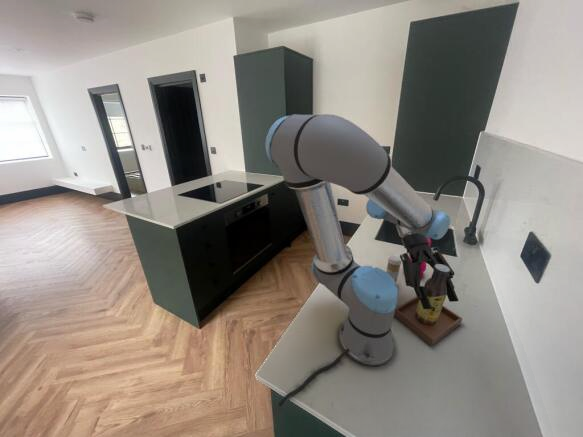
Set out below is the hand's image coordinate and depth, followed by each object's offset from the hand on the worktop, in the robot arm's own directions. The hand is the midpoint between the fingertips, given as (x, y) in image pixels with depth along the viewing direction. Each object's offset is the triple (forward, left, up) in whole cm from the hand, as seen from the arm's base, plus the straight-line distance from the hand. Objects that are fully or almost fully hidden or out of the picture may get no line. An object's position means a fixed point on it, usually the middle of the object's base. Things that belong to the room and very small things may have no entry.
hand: (441, 304), depth 69 cm
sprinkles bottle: (+4, +20, -10) cm, 23 cm away
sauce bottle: (+1, +3, -9) cm, 9 cm away
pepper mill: (+19, +20, -10) cm, 29 cm away
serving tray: (+1, +3, -9) cm, 10 cm away
